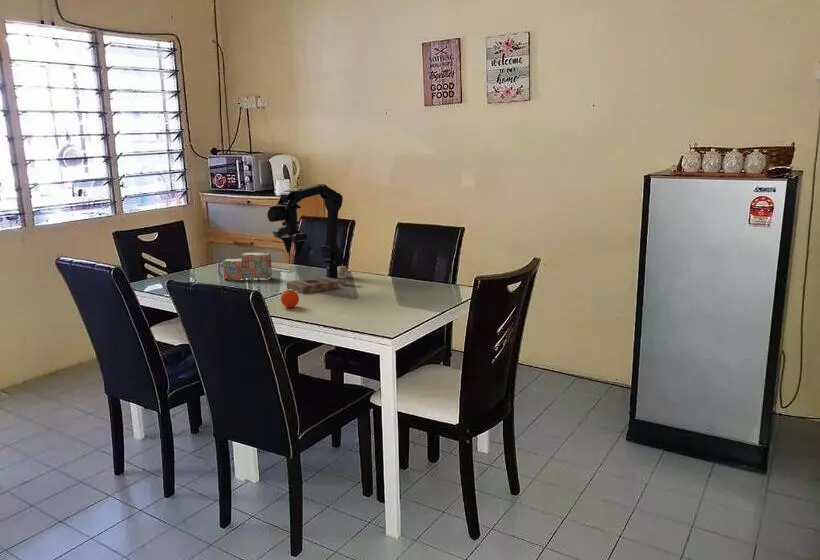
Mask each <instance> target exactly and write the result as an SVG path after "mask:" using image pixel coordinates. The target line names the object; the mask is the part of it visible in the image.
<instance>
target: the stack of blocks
mask: <svg viewBox="0 0 820 560" xmlns="http://www.w3.org/2000/svg"><path fill="white" fill-rule="evenodd" d="M222 265H223V266H222V267H223V277H224V278H226V279H241V278H242V279H243V278H245V279H246V278H251V279H254V278H265V279H268V278H269V277H271V276H272V277H273V273H272V269H273V268H272V252H271V253H270V252H244V253H242V254H241V258H226V259H224V260H223V261H222ZM224 278H223V279H224Z"/></svg>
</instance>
